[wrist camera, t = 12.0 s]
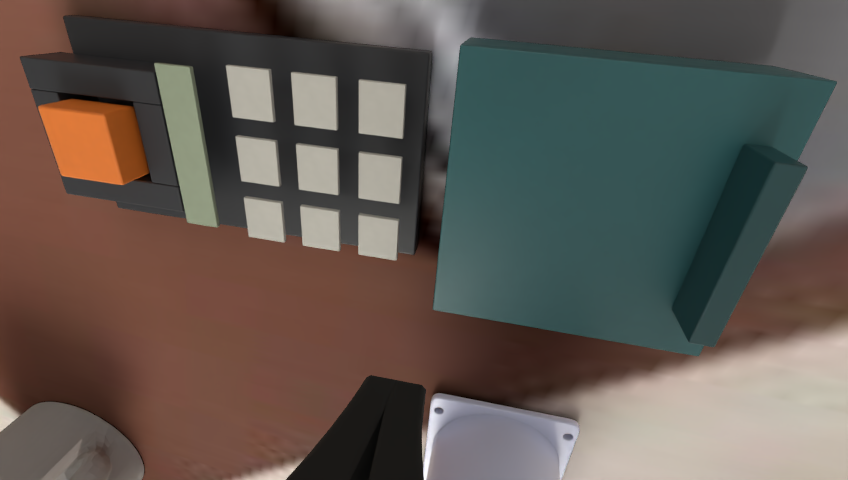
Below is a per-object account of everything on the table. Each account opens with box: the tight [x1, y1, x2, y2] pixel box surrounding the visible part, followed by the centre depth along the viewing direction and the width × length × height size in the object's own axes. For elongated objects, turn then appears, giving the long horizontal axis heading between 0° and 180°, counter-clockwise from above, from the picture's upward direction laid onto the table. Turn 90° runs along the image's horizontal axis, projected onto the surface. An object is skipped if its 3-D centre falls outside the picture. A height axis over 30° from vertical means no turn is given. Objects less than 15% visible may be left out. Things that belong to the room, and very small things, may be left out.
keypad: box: [154, 63, 406, 260], centre depth 17 cm, size 7×9×1 cm
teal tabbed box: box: [433, 37, 837, 356], centre depth 15 cm, size 10×10×5 cm
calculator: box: [20, 15, 432, 255], centre depth 18 cm, size 16×8×2 cm, turn 86°
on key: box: [38, 99, 150, 185], centre depth 17 cm, size 3×3×2 cm
